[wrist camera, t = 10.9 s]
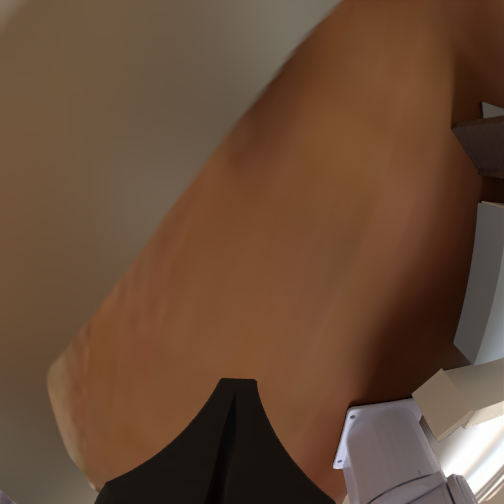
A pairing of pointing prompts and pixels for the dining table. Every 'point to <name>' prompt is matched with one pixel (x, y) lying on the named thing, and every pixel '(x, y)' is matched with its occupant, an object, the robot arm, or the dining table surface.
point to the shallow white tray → (462, 397)
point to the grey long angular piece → (484, 140)
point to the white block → (484, 290)
